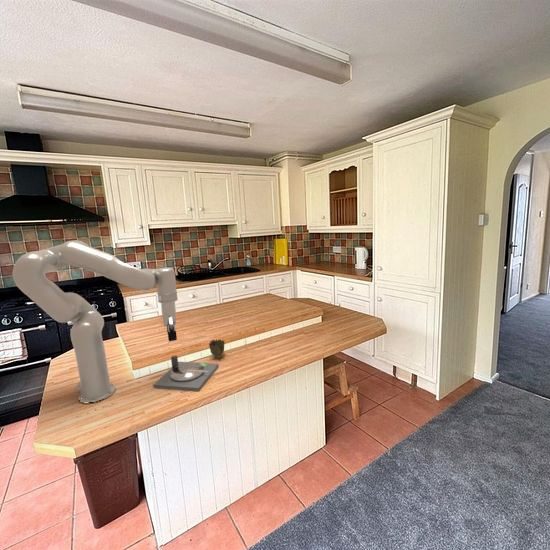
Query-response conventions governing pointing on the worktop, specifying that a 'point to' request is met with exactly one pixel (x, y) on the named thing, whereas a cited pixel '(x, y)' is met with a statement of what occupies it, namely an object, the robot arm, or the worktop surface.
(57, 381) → the worktop surface
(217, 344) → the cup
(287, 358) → the worktop surface
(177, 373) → the dial
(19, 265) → the robot arm
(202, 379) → the plate
